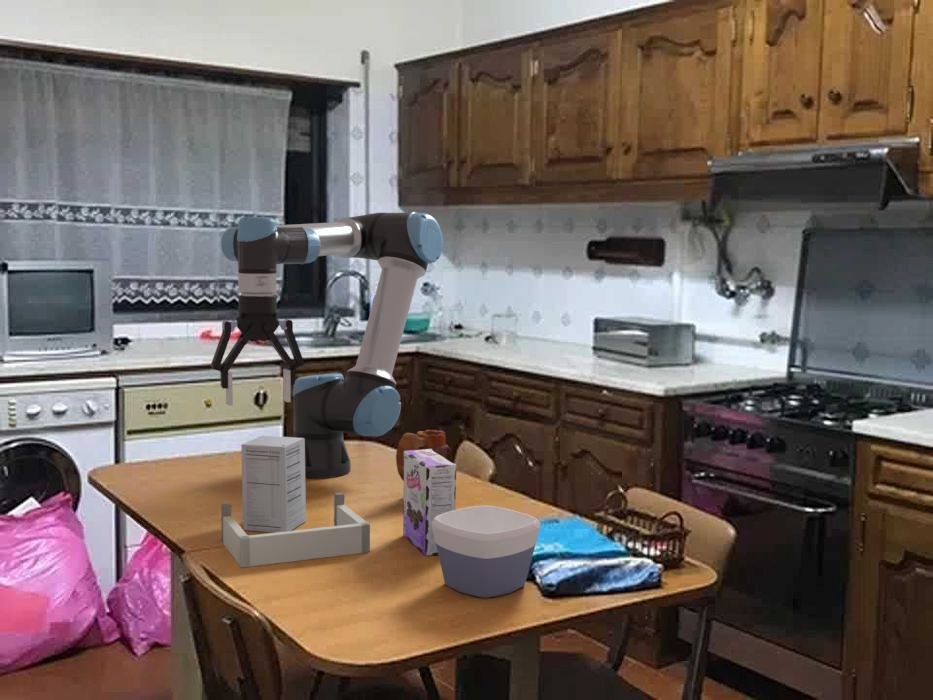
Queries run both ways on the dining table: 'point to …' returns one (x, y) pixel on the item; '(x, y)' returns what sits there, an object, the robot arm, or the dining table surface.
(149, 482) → the dining table surface
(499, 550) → the bowl
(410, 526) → the candy box
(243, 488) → the supplement box
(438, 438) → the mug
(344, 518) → the bay
